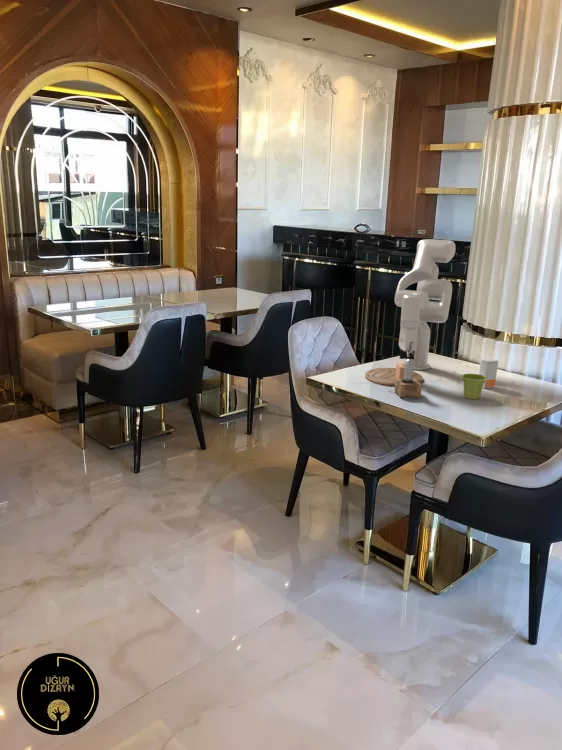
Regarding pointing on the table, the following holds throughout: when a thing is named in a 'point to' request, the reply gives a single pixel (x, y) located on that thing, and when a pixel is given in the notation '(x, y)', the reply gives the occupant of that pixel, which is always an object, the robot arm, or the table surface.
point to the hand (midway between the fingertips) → (406, 362)
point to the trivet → (387, 376)
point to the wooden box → (408, 389)
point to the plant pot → (473, 385)
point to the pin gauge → (408, 370)
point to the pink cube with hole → (400, 371)
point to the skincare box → (489, 371)
